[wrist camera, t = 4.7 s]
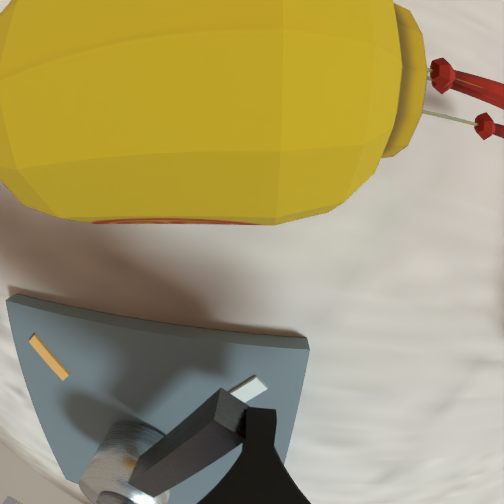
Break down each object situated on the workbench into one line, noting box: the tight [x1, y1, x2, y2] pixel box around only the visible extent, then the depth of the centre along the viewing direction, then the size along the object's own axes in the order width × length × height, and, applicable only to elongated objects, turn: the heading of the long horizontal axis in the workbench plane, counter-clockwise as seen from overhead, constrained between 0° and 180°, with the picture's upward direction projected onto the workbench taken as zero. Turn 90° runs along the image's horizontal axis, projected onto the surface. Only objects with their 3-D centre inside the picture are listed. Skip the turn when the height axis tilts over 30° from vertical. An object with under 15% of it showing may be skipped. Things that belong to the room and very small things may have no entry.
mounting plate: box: [6, 294, 310, 504], centre depth 17 cm, size 18×18×1 cm
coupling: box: [79, 388, 250, 504], centre depth 13 cm, size 12×5×5 cm, turn 140°
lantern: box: [0, 0, 504, 225], centre depth 9 cm, size 10×10×30 cm
